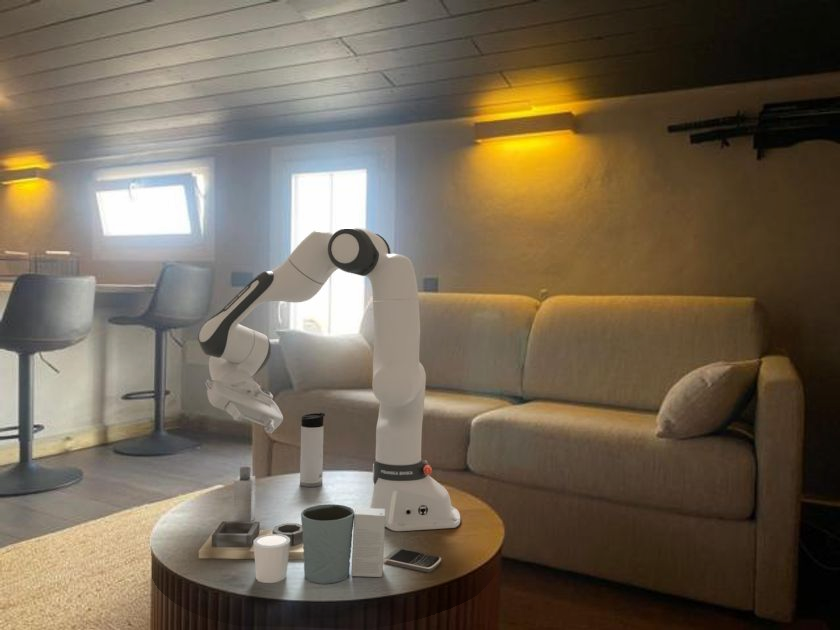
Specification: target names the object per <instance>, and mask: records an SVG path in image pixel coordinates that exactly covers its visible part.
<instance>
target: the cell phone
mask: <svg viewBox="0 0 840 630" xmlns="http://www.w3.org/2000/svg"><path fill="white" fill-rule="evenodd" d="M441 562H442V557H440V556H437V555H433V554H432V555H431V554H428V553H423V552H417V551H413V550H408V549H403V548H396V549H394V550H393V551H392V552H390V553H389V554H388V555H387V556H385V557H383V564H386V565H387V564H388V565H392V566H396V567H402V568H404V569H410V570H415V571H418V572H423V573H431V572H433V571H434V570H436V568H437V567H439V565H440V564H441Z"/></svg>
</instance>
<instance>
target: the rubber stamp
mask: <svg viewBox="0 0 840 630" xmlns="http://www.w3.org/2000/svg"><path fill="white" fill-rule="evenodd" d="M233 484H234V485H233V486H234V488H233V521H236V522H254V519H255V516H256V515H255V514H256V513H255V512H256V511H255V510H256V476H255V475H252V476H251V467H250V466H241V467H240V468H239V475H238V476H237V477H236V479H235V480H234V482H233Z"/></svg>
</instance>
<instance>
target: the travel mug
mask: <svg viewBox="0 0 840 630" xmlns="http://www.w3.org/2000/svg"><path fill="white" fill-rule="evenodd" d="M325 416H326V414H325V413H324V412H319V413H308V414H304V415H302V416H301V421H300V422H301V424H300V425H301V428H300V463H299V464H300V466H299V469H300V470H299V471H300V473H299V478H300V479H299V484H300V486H301V487H304V488H305V487H306V488H316V487H320V486H322V484H323V477H324V476H323V470H324V469H323V468H324V465H323V464H324V463H323V462H324V427H325V426H324V417H325Z"/></svg>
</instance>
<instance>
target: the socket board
mask: <svg viewBox="0 0 840 630" xmlns="http://www.w3.org/2000/svg"><path fill="white" fill-rule="evenodd" d="M260 524H261V523H260V521H252V522H236V521H234V520H233V521H231V520H230V521H226V520H225V521H223V520H222V522H220V524H219V525H218V527H217V528H216V529H214V530H213V532H212V533H211V535H210V536H209V537H208V538H207V540H206V541H205V543H203V545H202V546H201V547H200V549H199V550H198V559H221V560H222V559H229V560H231V559H232V560H234V559H235V560H240V559H241V560H244V559H245V560H246V559H247V560H249V559H251V560H255V556H254V540H255V539H256V538H257V537H260V536H263V535H267V534H282V535H285V536H288V537H289V538H290V547H289V556H288V560H304V554H303V552H304V549H303V546H304V545H303V535H302V534H303V530H302V524H301V523H297V522H296V523H294V522H293V523H292V522H291V523H290V522H289V523H287V522H286V523H281V524H277V525H275V526H274V527H273V529H260Z"/></svg>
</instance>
